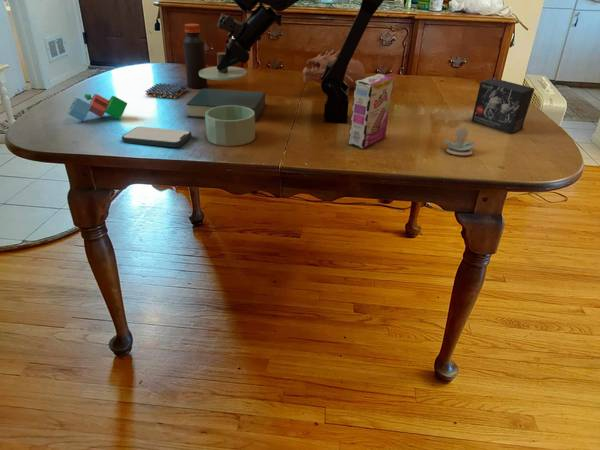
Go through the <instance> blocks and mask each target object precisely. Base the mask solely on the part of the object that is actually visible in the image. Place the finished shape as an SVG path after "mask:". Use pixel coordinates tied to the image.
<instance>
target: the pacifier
mask: <svg viewBox="0 0 600 450" xmlns="http://www.w3.org/2000/svg"><path fill="white" fill-rule="evenodd" d="M468 135H469V130H468V129H467V127H465V126H460V127H458V128H457V129H456V131H455V141H454V142H452V141H450V140H447V139H444V143H445V145H446V146H448V147H449V148H447V149H446V152H447V153H448V154H451V155H455V156H462V157H463V156H464V157H465V156H466V157H467V156H472V154H473V151H472V149H473V148H474V146H475V142H474V141H467V142H465V140H466V139H467V137H468Z"/></svg>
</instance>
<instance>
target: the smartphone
mask: <svg viewBox="0 0 600 450" xmlns="http://www.w3.org/2000/svg"><path fill="white" fill-rule="evenodd" d="M192 137H193V133H192V131H190V130H181V129H170V128H161V127H160V128H158V127H150V126H136V127H134V128H133V129H130V130H129V131H128V132H126V133H124V134H123V135H122V136H121V142H123V143H128V144H137V145H148V146H158V147H169V148H180V147H182V146H183V145H184V144H185V143H186V142H187V141H189V140H190V139H191V138H192Z"/></svg>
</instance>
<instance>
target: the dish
mask: <svg viewBox="0 0 600 450" xmlns="http://www.w3.org/2000/svg"><path fill="white" fill-rule="evenodd" d="M204 121H205V122H204V123H205V133H206V134H205V135H206V140H207V141H208V142H210V143H212V144H214V145H217V146H223V147H236V146H243V145H246V144H249V143H251V142H253V141H254V140H255V139H256V122H255V112H254V111H253V110H252V109H251V108H247V107H244V106H237V105H225V106H217V107H214V108H210V109H209V110H207V111H206V112H205V118H204Z"/></svg>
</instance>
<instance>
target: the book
mask: <svg viewBox="0 0 600 450" xmlns="http://www.w3.org/2000/svg"><path fill="white" fill-rule="evenodd" d="M185 105H186V106H187V112H188V115H187V118H192V119H205V112H206V111H207V110H209V109H210V108H214V107H217V106H225V105H237V106H244V107H247V108H251V109H252V110H253V111H254V112H255V123H256V122H257V120H258V118H259V117H260V115H261V113H262V111H263V110H264V108H265V106H266V92H265V91H264V92H263V91H248V90H234V89H232V90H231V89H217V88H201V90H199V91H198V92H197V93H196V94H195V95H194V96H193V97H192V98H191V99H190V100H189V101H187V103H186V104H185Z"/></svg>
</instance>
